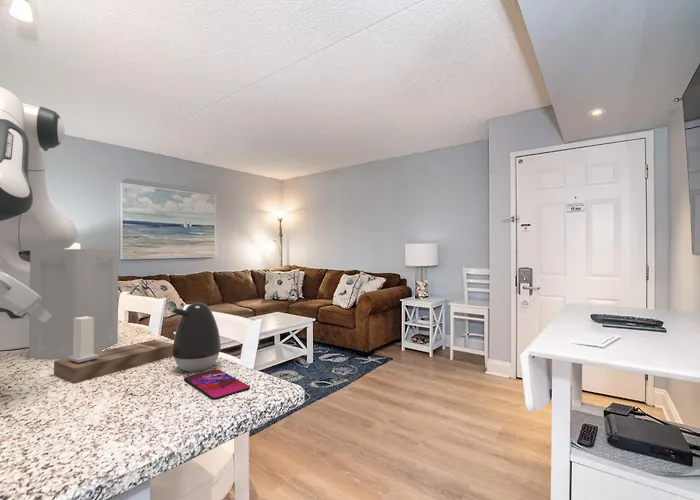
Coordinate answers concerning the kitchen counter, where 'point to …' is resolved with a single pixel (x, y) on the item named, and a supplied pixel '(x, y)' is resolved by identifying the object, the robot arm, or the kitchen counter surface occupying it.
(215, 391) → the smartphone
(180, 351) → the pump dispenser
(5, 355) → the kitchen counter surface
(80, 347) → the fader tab
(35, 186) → the robot arm
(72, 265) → the grey box
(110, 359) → the board
